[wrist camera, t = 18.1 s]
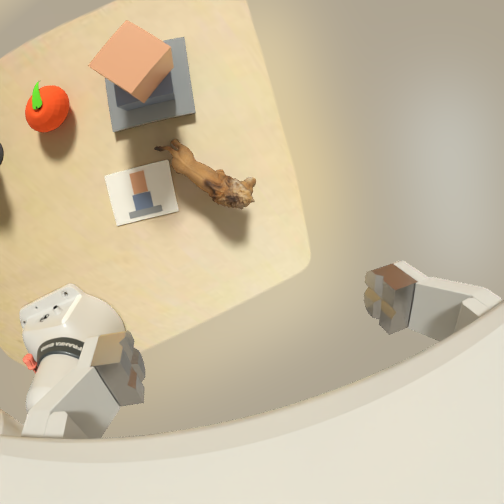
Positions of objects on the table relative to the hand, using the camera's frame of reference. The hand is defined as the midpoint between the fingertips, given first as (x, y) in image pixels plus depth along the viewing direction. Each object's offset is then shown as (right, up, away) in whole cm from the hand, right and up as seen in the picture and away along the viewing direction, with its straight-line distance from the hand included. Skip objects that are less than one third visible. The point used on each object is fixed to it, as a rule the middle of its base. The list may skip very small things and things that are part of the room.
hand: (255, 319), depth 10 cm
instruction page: (-16, +11, +32) cm, 38 cm away
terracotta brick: (-13, +23, +19) cm, 33 cm away
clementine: (-30, +24, +24) cm, 45 cm away
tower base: (-15, +26, +27) cm, 40 cm away
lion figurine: (-7, +14, +33) cm, 37 cm away
